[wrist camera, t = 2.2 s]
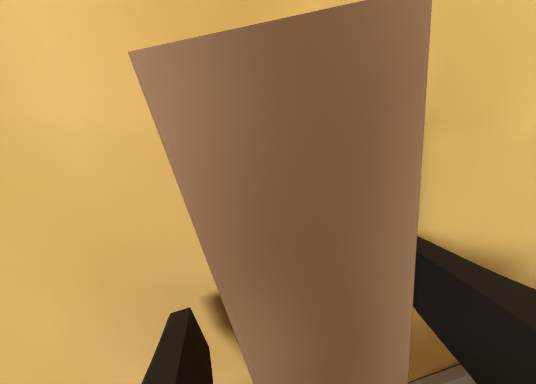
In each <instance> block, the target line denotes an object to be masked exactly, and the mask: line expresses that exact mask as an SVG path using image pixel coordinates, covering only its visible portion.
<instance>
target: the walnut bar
mask: <svg viewBox="0 0 536 384" xmlns="http://www.w3.org/2000/svg"><path fill="white" fill-rule="evenodd" d="M431 7H432V0H365V1H360V2H356V3H351V4H347V5H342V6H337V7H333V8H328V9H324V10H319V11H314V12H310V13H305V14H301V15H296V16H291V17H287V18H282V19H278V20H273V21H268V22H264V23H259V24H255V25H250V26H245V27H241V28H236V29H232V30H227V31H222V32H218V33H213V34H209V35H204V36H199V37H195V38H190V39H186V40H181V41H177V42H172V43H167V44H163V45H158V46H154V47H149V48H144V49H140V50H135V51H131V52H128V54H129V57H130V59H131V62H132V64H133V67H134V70H135V72H136V75H137V78H138V80H139V83H140V86H141V88H142V91H143V93H144V96H145V99H146V101H147V104H148V107H149V109H150V112H151V115H152V117H153V120H154V122H155V125H156V128H157V130H158V133H159V136H160V138H161V141H162V144H163V146H164V149H165V151H166V154H167V157H168V159H169V162H170V165H171V167H172V170H173V173H174V175H175V178H176V180H177V183H178V186H179V188H180V191H181V194H182V196H183V199H184V202H185V204H186V207H187V209H188V212H189V215H190V217H191V220H192V223H193V225H194V228H195V231H196V233H197V236H198V238H199V241H200V244H201V246H202V249H203V252H204V254H205V257H206V260H207V262H208V265H209V267H210V270H211V273H212V275H213V278H214V281H215V283H216V286H217V289H218V291H219V294H220V296H221V299H222V302H223V304H224V307H225V310H226V312H227V315H228V318H229V320H230V323H231V325H232V328H233V331H234V333H235V336H236V339H237V341H238V344H239V347H240V349H241V352H242V354H243V357H244V360H245V362H246V365H247V368H248V370H249V373H250V376H251V378H252V381H253V383H254V384H408V371H409V355H410V340H411V324H412V308H413V292H414V276H415V260H416V245H417V229H418V213H419V197H420V181H421V165H422V149H423V134H424V118H425V102H426V86H427V70H428V54H429V39H430V23H431Z"/></svg>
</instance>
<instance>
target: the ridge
mask: <svg viewBox="0 0 536 384" xmlns="http://www.w3.org/2000/svg"><path fill="white" fill-rule="evenodd" d="M408 384H476V383H475V381H474V380H473V379H472V377H471V376H470V375H469V374H468V372H467V371H466V370H465V369H464V368H463V366H462V365H461V364H460V365H457V366H454V367H452V368H449V369H446V370H443V371H441V372H438V373H435V374H432V375H430V376H427V377H424V378H422V379H419V380H416V381H413V382H411V383H408Z"/></svg>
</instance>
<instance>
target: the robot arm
mask: <svg viewBox="0 0 536 384" xmlns="http://www.w3.org/2000/svg"><path fill="white" fill-rule="evenodd" d="M413 307H414V308H415V309H416V311H417V312H418V314H419V315H420V316H421V317H422V319H423V320H424V321H425V322H426V323H427V325H428V326H429V327H430V328H431V329H432V331H433V332H434V333H435V334H436V335H437V337H438V338H439V339H440V340H441V341H442V343H443V344H444V345H445V346H446V347H447V349H448V350H449V351H450V352H451V353H452V354H453V356H454V357H455V358H456V359H457V360H458V362H459V363H460V364H461V365H462V366H463V368H464V369H465V370H466V371H467V372H468V374H469V375H470V376H471V377H472V379H473V380H474V381H475V383H476V384H536V290H535V289H533V288H530V287H528V286H525V285H523V284H520V283H518V282H516V281H513V280H511V279H508V278H506V277H504V276H501V275H499V274H497V273H495V272H492V271H490V270H488V269H486V268H483V267H481V266H479V265H477V264H475V263H473V262H470V261H468V260H466V259H464V258H462V257H460V256H458V255H456V254H454V253H452V252H449V251H447V250H445V249H443V248H441V247H439V246H437V245H435V244H433V243H431V242H429V241H426V240H424V239H422V238H420V237H417V245H416V260H415V276H414V292H413ZM142 384H213V378H212V368H211V360H210V351H209V346H208V344H207V342H206V340H205V338H204V336H203V334H202V331H201V329H200V327H199V325H198V323H197V321H196V319H195V317H194V315H193V313H192V310H191V308H187V309H183V310H180V311H177V312H174V313H171V314H170V316H169V317H168V320H167V323H166V325H165V328H164V331H163V333H162V336H161V338H160V341H159V344H158V346H157V349H156V351H155V353H154V356H153V358H152V361H151V363H150V365H149V368H148V370H147V372H146V375H145V377H144V379H143V382H142Z"/></svg>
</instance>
